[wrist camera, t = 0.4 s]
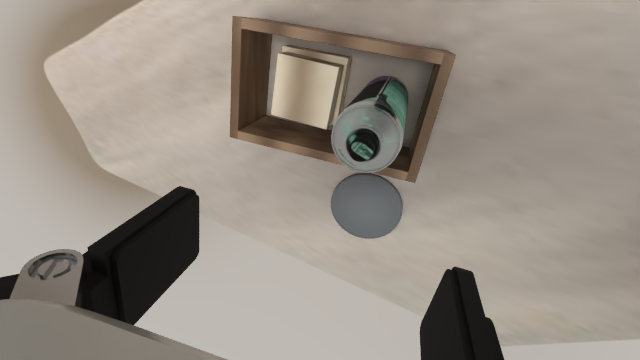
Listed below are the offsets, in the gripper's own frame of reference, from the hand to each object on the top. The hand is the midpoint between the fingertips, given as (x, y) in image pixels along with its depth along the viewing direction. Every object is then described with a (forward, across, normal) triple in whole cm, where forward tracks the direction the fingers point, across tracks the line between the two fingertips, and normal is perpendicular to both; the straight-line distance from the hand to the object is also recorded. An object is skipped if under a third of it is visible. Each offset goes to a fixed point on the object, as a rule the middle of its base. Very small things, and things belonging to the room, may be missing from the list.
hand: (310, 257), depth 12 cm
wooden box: (+32, +5, 0) cm, 32 cm away
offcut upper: (+29, +8, 0) cm, 30 cm away
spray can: (+32, -1, 0) cm, 32 cm away
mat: (+32, -2, +15) cm, 35 cm away
